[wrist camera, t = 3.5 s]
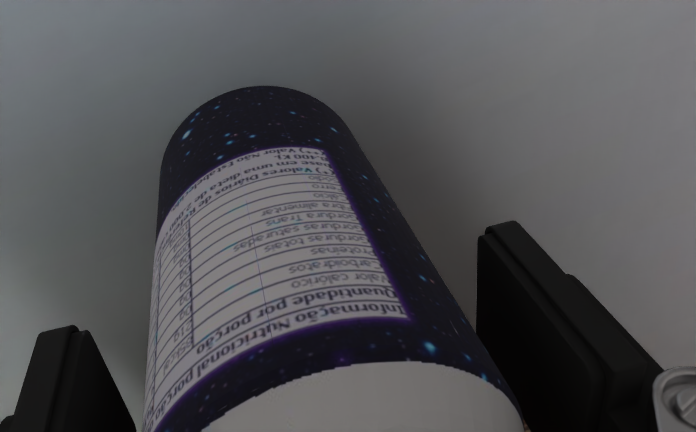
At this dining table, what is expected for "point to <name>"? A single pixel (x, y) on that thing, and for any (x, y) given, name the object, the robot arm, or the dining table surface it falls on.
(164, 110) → the dining table surface
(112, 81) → the dining table surface
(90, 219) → the dining table surface
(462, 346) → the beverage can
